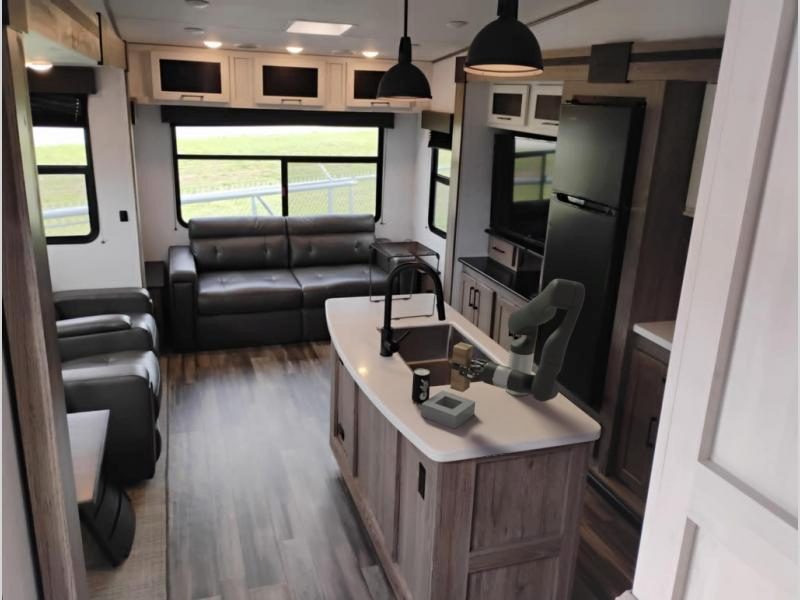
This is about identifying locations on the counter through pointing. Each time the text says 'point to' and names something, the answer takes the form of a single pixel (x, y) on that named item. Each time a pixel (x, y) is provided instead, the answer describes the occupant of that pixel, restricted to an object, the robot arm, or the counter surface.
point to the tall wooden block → (463, 357)
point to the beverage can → (421, 385)
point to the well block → (448, 409)
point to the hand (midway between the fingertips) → (455, 362)
